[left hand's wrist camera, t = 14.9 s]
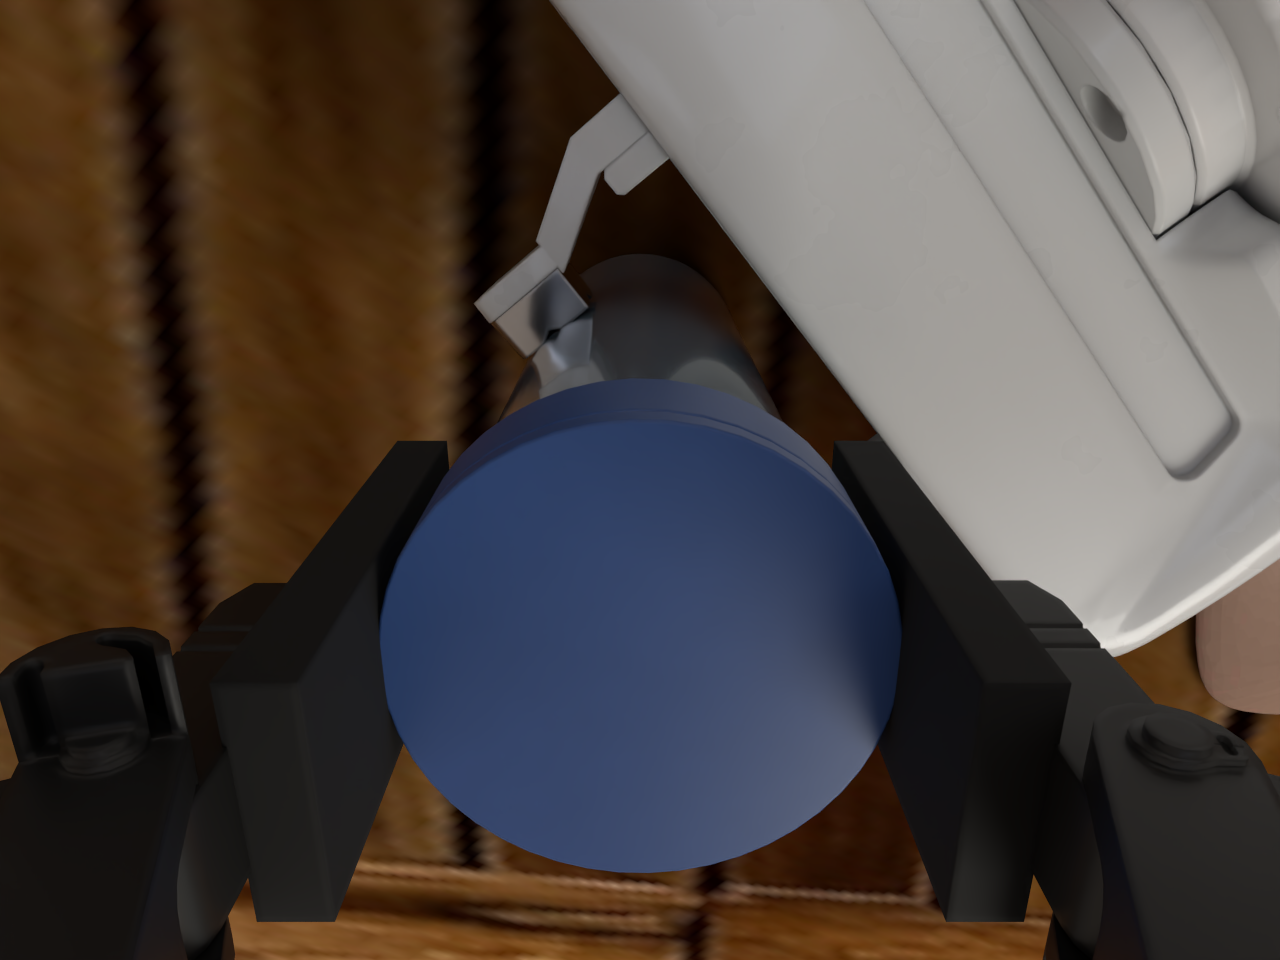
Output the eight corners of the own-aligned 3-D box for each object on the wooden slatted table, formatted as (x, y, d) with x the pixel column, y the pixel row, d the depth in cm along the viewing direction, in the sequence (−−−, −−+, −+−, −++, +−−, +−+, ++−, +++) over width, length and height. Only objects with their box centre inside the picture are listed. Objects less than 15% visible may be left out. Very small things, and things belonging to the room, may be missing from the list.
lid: (964, 548, 12) (1015, 616, 10) (688, 847, 14) (694, 944, 12) (579, 276, 11) (568, 303, 9) (330, 644, 12) (283, 722, 11)
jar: (723, 450, 26) (823, 833, 12) (539, 434, 26) (417, 802, 12) (748, 263, 24) (901, 453, 10) (549, 244, 24) (419, 410, 10)
